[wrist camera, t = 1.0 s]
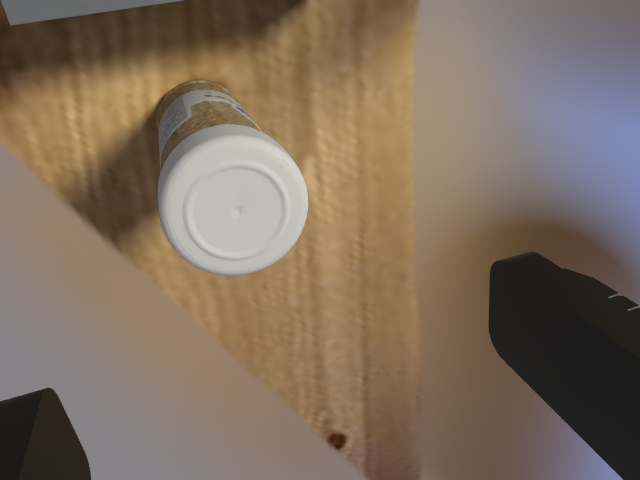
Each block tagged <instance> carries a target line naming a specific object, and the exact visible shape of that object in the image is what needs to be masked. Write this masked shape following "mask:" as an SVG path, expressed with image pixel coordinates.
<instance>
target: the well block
mask: <svg viewBox="0 0 640 480" xmlns="http://www.w3.org/2000/svg"><path fill="white" fill-rule="evenodd" d="M176 1H183V0H1V2H2V4H3V7H4V10H5V13H6V15H7V18H8V21H9V23H10V26H11V25H18V24H25V23H32V22H38V21H45V20H52V19H59V18H66V17H73V16H80V15H87V14H94V13H101V12H107V11H114V10H121V9H128V8H135V7H142V6H149V5H156V4H163V3H170V2H176Z"/></svg>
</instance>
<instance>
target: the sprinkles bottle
mask: <svg viewBox="0 0 640 480" xmlns="http://www.w3.org/2000/svg"><path fill="white" fill-rule="evenodd" d="M157 129H158V132H159V136H158V137H159V156H160V171H161V173H160V177H159V182H158V207H159V215H160V221H161V225H162V228H163V231H164V233H165V235H166V238H167V240H168V241H169V243H170V244H171V246H172V247H173V249H174V250H175V251H176V252H177V253H178V254H179V255H180V256H181V257H182V258H183V259H184V260H186V261H187V262H189V263H190V264H192V265H193V266H195V267H197V268H199V269H202V270H204V271H207V272H210V273H214V274H219V275H243V274H249V273H252V272H256V271H259V270H261V269H264V268H266V267H268V266H270V265H271V264H273V263H275V262H276V261H278V260H279V259H280V258H282V257H283V256H284V255H285V254H286V253H287V252H288V251H289V250H290V249H291V248H292V246H293V245H294V244H295V242H296V241H297V239H298V238H299V236H300V234H301V232H302V230H303V227H304V224H305V221H306V218H307V212H308V194H307V188H306V184H305V181H304V179H303V176H302V174H301V172H300V170H299V168H298V167H297V165H296V164H295V162H294V161H293V160H292V158H291V157H290V156H289V155H288V153H287V152H286V151H285V150H284V149H283V148H282V147H281V146H280V145H279V144H278V143H277V142H276V141H275V140H274V139H272V138H271V137H269V136H268V135H266V134H264V133H262V131H261V130H260V129H259V127H258V126H257V125H256V124H255V123H254V121H253V120H252V119H251V118H250V117H249V115H248V114H247V113H246V111H245V110H244V109H243V108H242V107H241V106H240V104H239V102H238V100H237V99H236V98H235V97H234V96H233V95H232V93H231V92H230V91H229V90H227V89H226V88H224V87H223V86H221V85H219V84H217V83H214V82H211V81H207V80H191V81H187V82H184V83H182V84H179V85H178V86H176V87H175V88H173V89H172V90H171V91H170V92H168V93H167V94H166V95H165V97H164V99H163V101H162V102H161V104H160V106H159V109H158V113H157Z"/></svg>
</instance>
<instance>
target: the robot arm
mask: <svg viewBox="0 0 640 480" xmlns="http://www.w3.org/2000/svg"><path fill="white" fill-rule="evenodd" d="M489 294H490V295H489V333H490V337H491V340H492V343H493V345H494V347H495V349H496V351H497V353H498V354H499V356H500V357H501V358H502V359H503V360H504V361H505V362H506V363H507V364H508V365H509V366H510V367H511V368H512V369H513V370H514V371H515V372H516V373H517V374H518V375H519V376H520V377H521V378H522V379H523V380H524V381H525V382H526V383H527V384H528V385H529V386H530V387H531V388H532V389H533V390H534V391H535V392H536V393H537V394H538V395H539V396H540V397H541V398H542V399H543V400H544V401H545V402H546V403H547V404H548V405H549V406H550V407H551V408H552V409H553V410H554V411H555V412H556V413H557V414H558V415H559V416H560V417H561V418H562V419H563V420H564V421H565V422H566V423H567V424H568V425H569V426H570V427H571V428H572V429H573V430H574V431H575V432H576V433H577V434H578V435H579V436H580V437H581V438H582V439H583V440H584V441H585V442H586V443H587V444H588V445H589V446H590V447H591V448H592V449H593V450H594V451H595V452H596V453H597V454H598V455H599V456H600V457H601V458H602V459H603V460H604V461H605V462H606V463H607V464H608V465H609V466H610V467H611V468H612V469H613V470H614V471H615V472H616V473H617V474H618V475H619V476H620V477H621V478H622V479H623V480H640V308H639V307H638V304H636V303H634V302H633V301H631V300H629V299H628V298H626V297H624V296H619V295H618V292H616V291H614V290H613V289H611V288H609V287H608V286H606V285H605V284H603V283H601V282H600V281H598V280H596V279H595V278H592V277H589V276H586V275H583V274H580V273H577V272H574V271H571V270H567V269H562V268H560V267H559V266H557V265H556V264H554V263H553V262H551V261H550V260H548V259H546V258H545V257H543V256H541V255H540V254H538V253H536V252H527V253H523V254H520V255H516V256H513V257H509V258H506V259H503V260H499V261H496V262H494V263H493V265H492V266H491V270H490V293H489ZM0 480H91V474H90V468H89V463H88V460H87V457H86V454H85V451H84V450H83V447H82V445H81V443H80V441H79V439H78V437H77V435H76V433H75V431H74V429H73V426H72V424H71V422H70V420H69V418H68V416H67V414H66V412H65V410H64V408H63V405H62V403H61V401H60V400H59V397H58V395H57V394H56V393H55V391H54V390H53V389H51V388H46V389H42V390H39V391H36V392H32V393H28V394H25V395H22V396H18V397H14V398H11V399H8V400H4V401H0Z"/></svg>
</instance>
